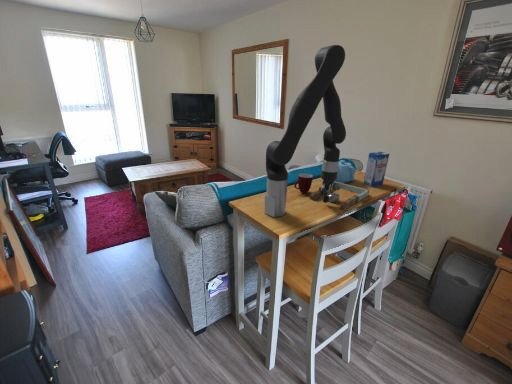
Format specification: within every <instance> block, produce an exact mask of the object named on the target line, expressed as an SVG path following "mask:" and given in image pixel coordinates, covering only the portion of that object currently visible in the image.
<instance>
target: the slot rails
mask: <svg viewBox="0 0 512 384" xmlns="http://www.w3.org/2000/svg"><path fill="white" fill-rule="evenodd" d="M320 197H324V196H323V195H321V193H320V190H319V189H318V190H316V191H314V192H312V193H310V197H309V200H312V201H315V200H317V199H319V198H320ZM357 200H358V195H356V194H354V195H353V196H350V197H349V198H348V199H346V200H344V201H342V202H340V205H339V210H342V211H344V210H346V209H348V208H350V207H351V206H352V205H354V204H356V203H357V202H358V201H357Z"/></svg>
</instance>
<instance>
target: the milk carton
mask: <svg viewBox="0 0 512 384" xmlns="http://www.w3.org/2000/svg"><path fill="white" fill-rule="evenodd" d="M389 157H390V153H387V152H382V151H375V152H369V153H368V158H367V162H366V163H367V164H366V169H365V175H364V180H363V185H365V186H368V187H370V188H373V187H378V186H379V187H381V186H383V185H384V181H385V176H386V171H387V167H388V161H389V159H390V158H389Z"/></svg>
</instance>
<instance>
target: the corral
mask: <svg viewBox="0 0 512 384" xmlns="http://www.w3.org/2000/svg"><path fill="white" fill-rule="evenodd" d="M334 183H336V185H335V187H334V189H335V188H338V189H342V190H346V191H349V192H353V193H356V194H358V195H357V196H358V200H357V202H361V201H362V200H364V199H366V197H368V196H369V194H370V190H369V189H366V188H363V187H359V186H354V185H350V184H347V183H340V182H335V181H334Z"/></svg>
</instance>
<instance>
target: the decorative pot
mask: <svg viewBox="0 0 512 384" xmlns="http://www.w3.org/2000/svg"><path fill="white" fill-rule="evenodd" d="M355 173H356V168H355V167H354V166H353V165H352V163H351V162H346V160H343V159H341V160H340V159H339V167H338V174H337V179H336V180H334V182H340V183H344V184H347V183H349V182H351V181H354V180H355Z"/></svg>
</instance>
